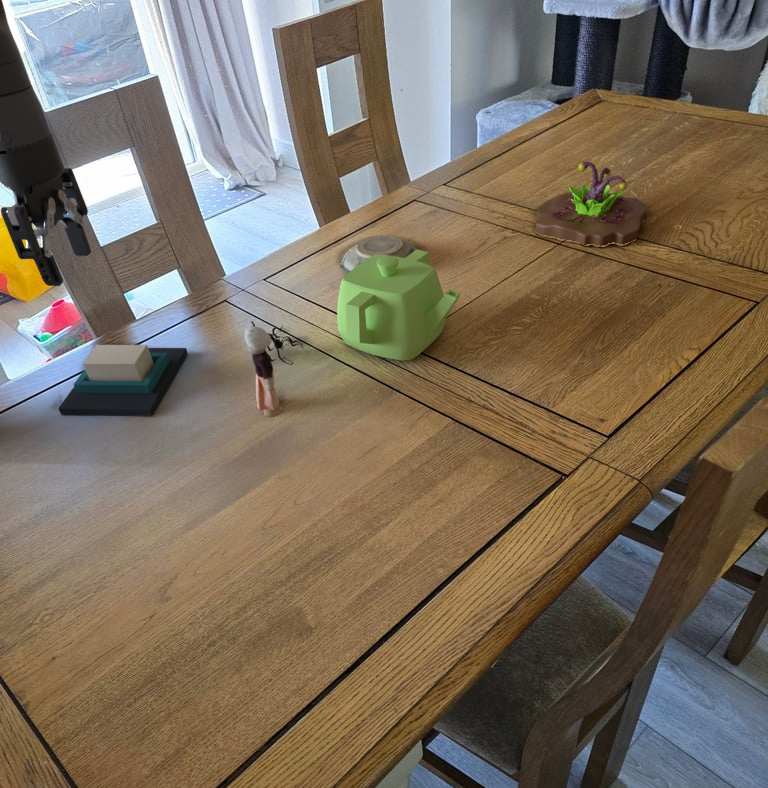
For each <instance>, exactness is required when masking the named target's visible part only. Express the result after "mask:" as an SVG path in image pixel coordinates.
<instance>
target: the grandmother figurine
mask: <svg viewBox="0 0 768 788" xmlns="http://www.w3.org/2000/svg"><path fill="white" fill-rule="evenodd" d="M268 333H269V332H267V331H266V330H265V329H264V328H262V327H259V326H256V325H255V326H253V325H252V326H249V327H247V328H246V329H245V331H244V340H245V342H246V348H247V350H248V352H250V353H251V358H252V362H253V364H254V368H255V396H256V404H257V405H256V407H257V409H258V410H259V411H263V415H264V417H267V418H272V417H274V416H277V415H280V414H282V413H283V412H284V408H283V406H281V405H280V402H281V401H280V398H279V397H278V395H277V390H276V388H275V375H274V367H273V364H272V363H273V362H271V361H270V358H269V356H268V355H269V353H268V352H267V350H266V349H267V346H269V347H270V345H271V344H272V343H273V341H272V340H271V337H270V335H269V334H270V333H269V334H268ZM267 353H268V354H267Z"/></svg>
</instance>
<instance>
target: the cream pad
mask: <svg viewBox="0 0 768 788" xmlns="http://www.w3.org/2000/svg"><path fill="white" fill-rule="evenodd" d="M148 348H149V346H148V344H96V345H95V346H94V347H93V349H92V350H91V352H90V353H89V354H88V356H87V357H86V358H85V359H84V361H83V362H82V366H83V368H84V370H86V372H87V375H88V377H89V379H90V381H144V380H145V379H146V377H147V376H148V374H149V372H150V371H151V369H152V368H153V366H154V363H153V360H152V357H151V355H150V352H149V349H148Z"/></svg>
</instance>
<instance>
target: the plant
mask: <svg viewBox="0 0 768 788" xmlns="http://www.w3.org/2000/svg"><path fill="white" fill-rule="evenodd" d="M588 167H590V168H591V172H592V179H591V187H589V186H588V185H587V184H585V183H583V184H582V186H581V190H580V188H577V187H574V186H569V188H568V189H569V191H570V192H569V191H568V192H566V193H562V194H558V195H556V196H554V197H551V198H550V199H548V200H547V201H545V202H544V203H543V204H542V205H541V206H540V207H539V208H538V209H537V210H536V215H535V222H536V221H537V222H536V223H535V229H534V233H535V232H537V233H540V234H542V235H548V236H554V237H557V238H560V239H566V240H572V241H577V242H580V243H582V244H583V245H586V244H595V245H600V246H602V245H606V244H608V243H612V242H615V243H619V244H625V243H628V242H631V241H633V240H635V239H636V238H637V239H638V238H639V233H640V228H641V226H642V225H643V223H642V222H643V221H644V220H646V221H647V217H648V212H649V210H648V209H647V207H646V205H645V203H644V202H642V201H640V200H639V199H638V198H636V197H626V196H622V195H623V194H624V190H626V189H627V188H628V183H627V181H626V180H625V179H623V178H624V177H621V176H620V175H611V174H612V172H611V169H610V168H608V167H604V168H603V169H602V170H601V171H600V174H599V173H598V169H597V167H596V165H595V164H594V163H593V162H591V161H587V160H586V161H582V162H581V163H579V164H578V167H577V168H578V171H579V172H585V171H586V170H587V169H588ZM604 177H607V178H606V179H604ZM614 180H615V181H616V180H619V189H620V190H622V191H616V192H614V193H610V188H611V186H610V185H609V184H610V183H611V181H614ZM640 225H641V226H640ZM637 239H636V240H637Z"/></svg>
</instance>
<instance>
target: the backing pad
mask: <svg viewBox="0 0 768 788" xmlns="http://www.w3.org/2000/svg"><path fill="white" fill-rule="evenodd" d="M148 349H149V352H150V355H151V357H152V360H153V363H154V366H153V368H152V369H151V371H150V372H149V374H148V376H147V377H146V379H145V380H144V381H90V379H89V377H88V375H87V372H86V370H85V369H83V371H81V373H80V374H79V376H78V378H77V379H76V380H75V382H74V383H73V388H72V389H71V390H70V392H68V393H67V396H66V397H65V398H64V400H63V401H62V402H61V404H60V405H59V406H58V409H57V410H58V411H59V413H60V415H61V416H103V417H104V416H109V417H110V416H112V417H113V416H115V417H154V415H155V413H156V411H157V409H158V408H159V406H160V404H161V402H162V401H163V399H164V397H165V395H166V394H167V392H168V390H169V389H170V387H171V386H172V383H173V382H174V380H175V378H176V376H177V375H178V373H179V371H180V370H181V368H182V366H183V365H184V362H185V361H186V360H187V357H188V356H189V353H188V349H187V347H148Z"/></svg>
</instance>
